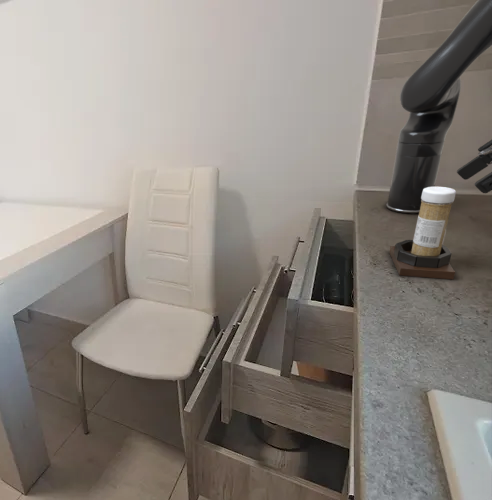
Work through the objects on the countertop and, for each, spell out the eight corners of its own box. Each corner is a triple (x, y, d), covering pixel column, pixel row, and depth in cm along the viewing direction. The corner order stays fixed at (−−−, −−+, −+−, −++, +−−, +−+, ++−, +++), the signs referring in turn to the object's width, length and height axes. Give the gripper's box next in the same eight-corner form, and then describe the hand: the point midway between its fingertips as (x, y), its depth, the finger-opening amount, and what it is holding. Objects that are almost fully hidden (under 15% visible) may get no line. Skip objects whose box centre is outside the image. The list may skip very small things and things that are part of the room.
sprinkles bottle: (443, 258, 68) (461, 188, 63) (432, 266, 66) (449, 194, 61) (415, 251, 72) (430, 184, 66) (404, 259, 70) (418, 190, 64)
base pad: (389, 252, 76) (392, 236, 74) (437, 255, 73) (440, 239, 71) (399, 275, 67) (402, 258, 66) (453, 279, 64) (458, 261, 63)
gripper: (646, 128, 47) (503, 211, 56) (579, 115, 59) (469, 186, 68) (604, 87, 47) (467, 177, 56) (545, 83, 58) (440, 158, 68)
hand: (468, 182), depth 62 cm, fingers open, 8 cm apart
